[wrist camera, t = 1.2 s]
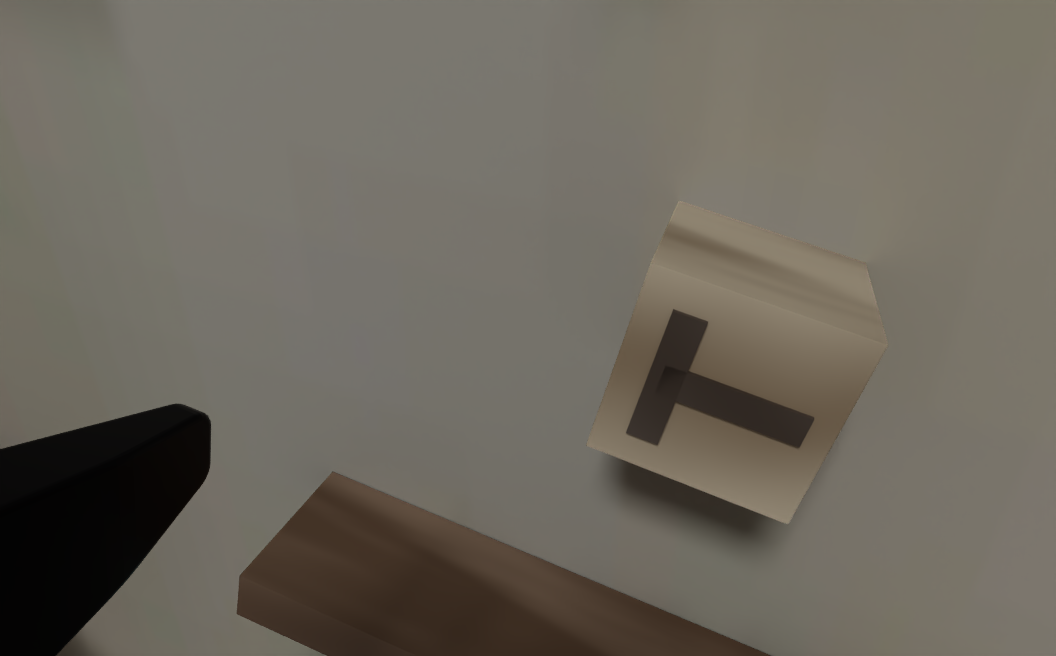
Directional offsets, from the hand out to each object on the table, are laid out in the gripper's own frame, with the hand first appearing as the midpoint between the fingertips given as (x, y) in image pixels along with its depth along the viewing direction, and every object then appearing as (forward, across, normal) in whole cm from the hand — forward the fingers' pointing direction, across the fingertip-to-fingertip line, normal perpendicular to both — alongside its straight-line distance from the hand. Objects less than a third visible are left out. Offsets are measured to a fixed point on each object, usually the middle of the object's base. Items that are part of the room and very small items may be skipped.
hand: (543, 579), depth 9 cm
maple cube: (+12, -2, +1) cm, 12 cm away
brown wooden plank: (+12, -2, +12) cm, 17 cm away
